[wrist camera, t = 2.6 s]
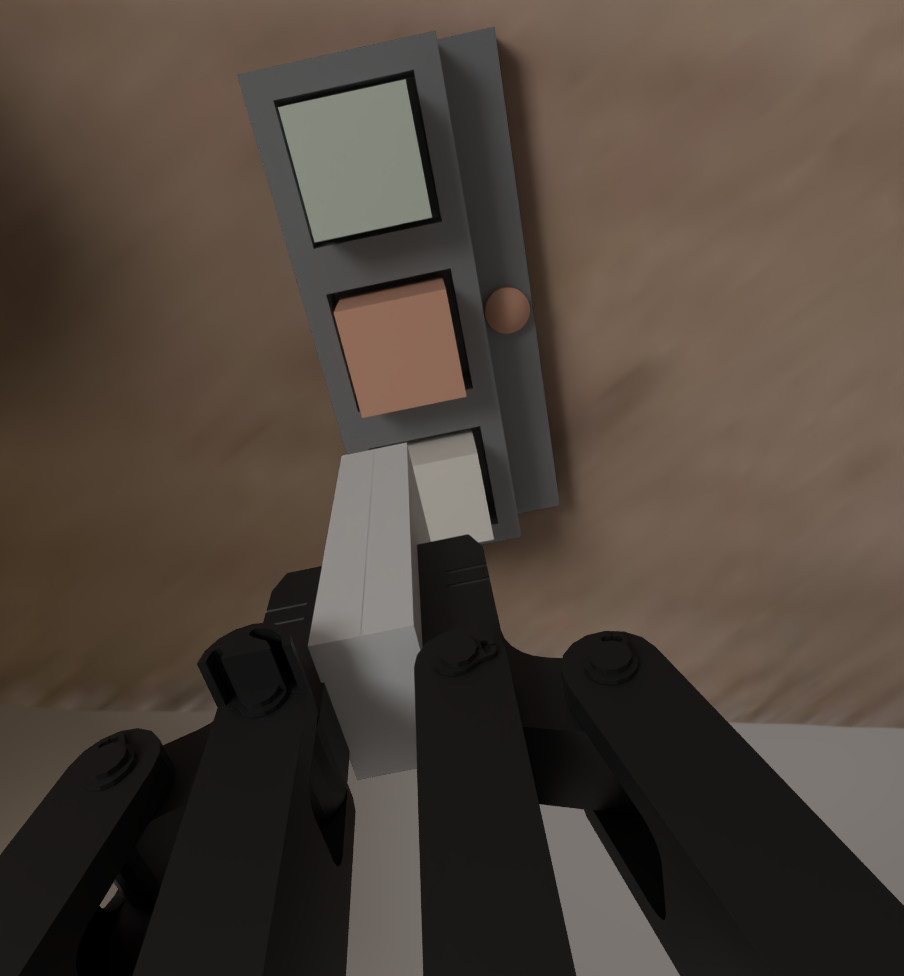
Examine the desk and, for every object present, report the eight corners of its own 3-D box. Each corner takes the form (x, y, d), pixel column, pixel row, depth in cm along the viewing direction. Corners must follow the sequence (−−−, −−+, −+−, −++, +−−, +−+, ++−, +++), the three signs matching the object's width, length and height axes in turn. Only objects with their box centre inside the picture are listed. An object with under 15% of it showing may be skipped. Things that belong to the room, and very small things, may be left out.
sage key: (405, 87, 25) (405, 78, 23) (429, 211, 27) (431, 217, 25) (291, 112, 25) (278, 107, 23) (323, 233, 27) (314, 242, 25)
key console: (490, 33, 27) (502, 16, 24) (554, 492, 37) (569, 527, 33) (257, 84, 27) (236, 74, 24) (381, 527, 37) (379, 565, 33)
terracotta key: (442, 276, 28) (445, 288, 26) (460, 375, 30) (466, 396, 28) (340, 297, 29) (333, 312, 26) (365, 394, 31) (362, 418, 28)
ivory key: (471, 427, 32) (477, 453, 29) (486, 508, 34) (493, 539, 31) (379, 446, 32) (377, 473, 29) (400, 525, 34) (400, 558, 31)
